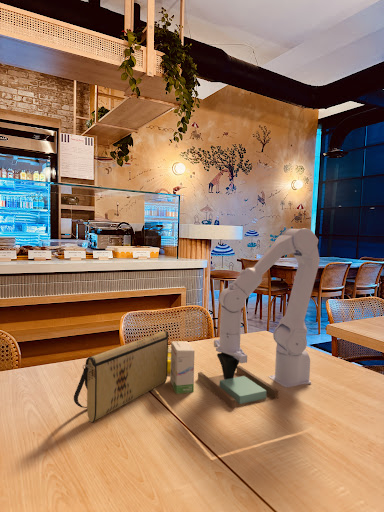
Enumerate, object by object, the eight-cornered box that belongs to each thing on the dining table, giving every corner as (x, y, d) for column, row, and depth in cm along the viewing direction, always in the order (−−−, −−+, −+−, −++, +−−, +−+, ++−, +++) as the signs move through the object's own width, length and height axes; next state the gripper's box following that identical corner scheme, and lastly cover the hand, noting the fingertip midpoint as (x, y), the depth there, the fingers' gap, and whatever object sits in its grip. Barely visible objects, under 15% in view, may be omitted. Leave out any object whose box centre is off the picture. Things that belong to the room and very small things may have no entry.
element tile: (142, 355, 122) (142, 341, 122) (185, 358, 120) (185, 344, 120) (128, 372, 107) (128, 357, 107) (177, 376, 105) (177, 360, 105)
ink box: (194, 393, 94) (195, 350, 93) (175, 395, 92) (176, 351, 91) (186, 380, 102) (187, 340, 101) (169, 381, 101) (170, 340, 100)
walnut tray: (239, 373, 108) (239, 365, 107) (278, 399, 91) (278, 390, 91) (197, 381, 101) (198, 372, 101) (231, 410, 85) (231, 400, 85)
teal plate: (244, 382, 100) (244, 375, 100) (266, 398, 91) (266, 390, 91) (219, 387, 96) (219, 380, 96) (239, 404, 87) (240, 396, 87)
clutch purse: (152, 376, 104) (153, 325, 103) (171, 382, 100) (172, 330, 99) (65, 419, 80) (65, 353, 79) (86, 429, 76) (87, 361, 75)
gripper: (205, 326, 104) (203, 371, 105) (231, 341, 91) (229, 392, 92) (226, 324, 107) (224, 368, 108) (254, 338, 94) (252, 388, 95)
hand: (228, 379), depth 100 cm, fingers closed
